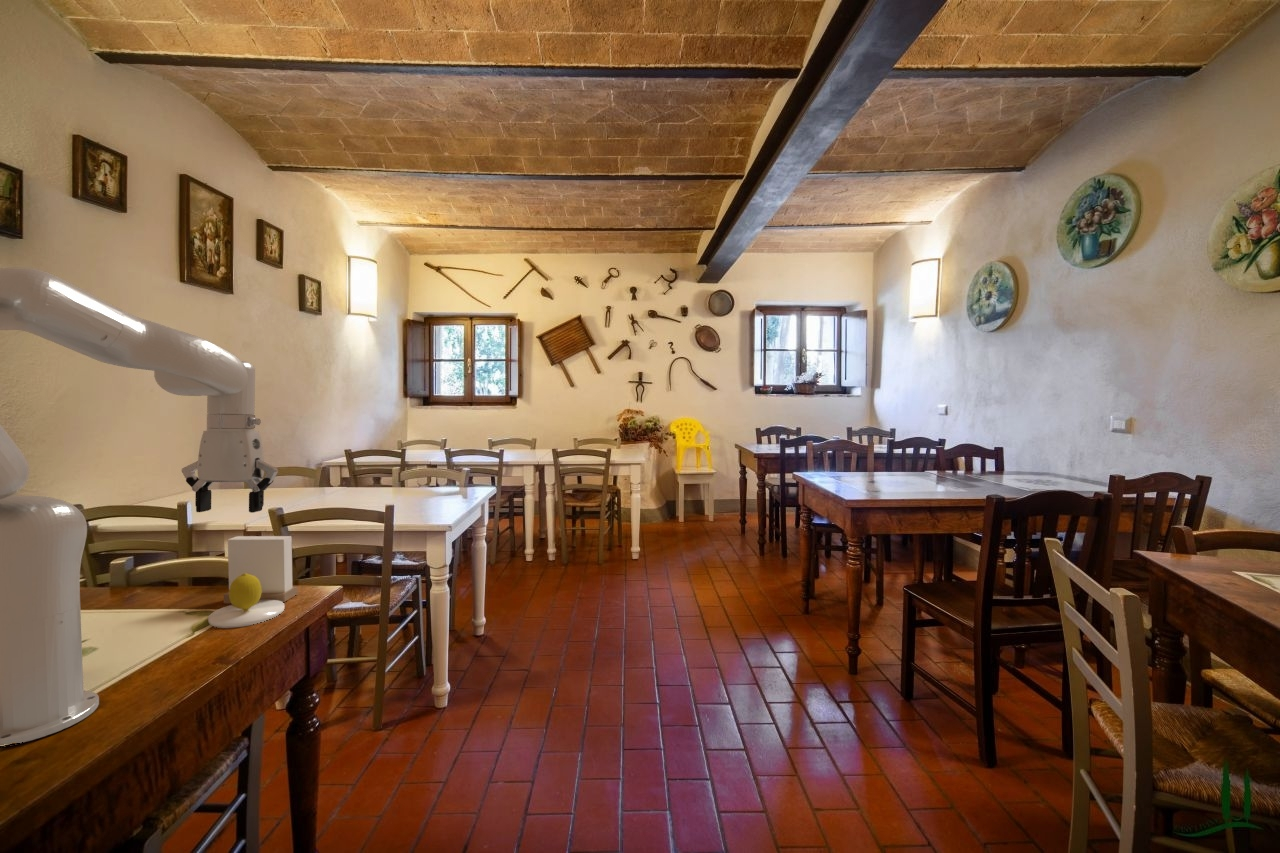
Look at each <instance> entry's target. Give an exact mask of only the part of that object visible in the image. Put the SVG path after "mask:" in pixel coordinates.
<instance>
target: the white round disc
mask: <svg viewBox="0 0 1280 853" xmlns="http://www.w3.org/2000/svg"><path fill="white" fill-rule="evenodd" d="M285 607H286V606H285V603H283V602H282V601H278V600H259V601H258V602H257V603H256V604H255V605H254V606H252V607H250V609H249V610H247V611H244V610H242V609H239V608H236V607H234V606H233V605H232V604H228V605H227V606H223V607H221V608H218V609H216V610H214V611H213V612H211V613H210V614H209V615H208V618H207V620H208V623H209V624H210V625H211V626H210V625H209V624H208V623H207V624H208V625H209V626H210V627H212V626H214V627H213V628H216V627H217V629H235V628H242V627H249V626H254V625H258V624H261V623H260V622H262V623H265V622H267V621H266V620H268V621H270V620H269V619H271V620H273V619H275V618H277V617H279V616H280V615H279V614H281V613H282V612H283V611H284V612H285V610H284V609H285ZM284 612H283V613H284ZM283 613H282V614H283ZM282 614H281V615H282ZM278 615H279V616H278ZM276 616H277V617H276ZM274 617H275V618H274ZM272 618H273V619H272ZM264 621H265V622H264ZM257 623H258V624H257ZM253 624H254V625H253Z"/></svg>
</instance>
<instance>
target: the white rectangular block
mask: <svg viewBox="0 0 1280 853" xmlns="http://www.w3.org/2000/svg"><path fill="white" fill-rule="evenodd" d="M292 540H293V539H292V536H291V535H289V536H288V535H287V536H286V535H268V536H267V535H262V536H261V535H259V536H256V535H249V536H248V535H244V536H243V535H241V536H239V535H238V536H233V537H231V538H228V539H227V554H228V555H227V557H228V558H227V561H228V562H227V564H228V590H229V589H230V586H231V584H232V582H233V581H234V580H235V579H236V578H237V577H239V576H241V575H242V574H243V573H247V574H250V575H253V576H255V577H257V578H258V579H259V581H260V584H261V589H262V593H261V597H260V599H259V600H278V601H282V602H285V601H286V600H288V599H289V598H291V597H293V596H295V595H297V596H298V586H293V552H292V551H293V547H292V546H293V544H292V543H293V542H292ZM295 597H296V596H295ZM285 603H286V602H285ZM223 604H232V603H231V602H230V599H229V591H228V592H226V593H224V594H223Z"/></svg>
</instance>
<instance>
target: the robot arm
mask: <svg viewBox="0 0 1280 853" xmlns="http://www.w3.org/2000/svg"><path fill="white" fill-rule="evenodd" d="M0 331H22V332H26V333H29V334H33V335H35V336H37V337H40V338H42V339H44V340H47V341H50V342H52V343H54V344H56V345H59V346H62V347H64V348H67V349H69V350H72V351H74V352H76V353H79V354H81V355H83V356H85V357H88V358H91V359H93V360H94V361H98V362H100V363H102V364H103V363H104V364H108V365H112V366H113V365H114V366H118V367H123V368H126V369H127V368H128V369H135V370H145V371H153V372H154V373H153V375H154V376H153V377H154V379H155V382H156V383H157V385H158V386H159V388H161V389H162V390H163V391H166V392H167V393H170V394H172V395H176V396H181V397H182V396H183V397H201V396H202V397H206V430H203V432H202V435H201V439H200V444H199V449H198V455H197V456H198V457H197V461H195V462H192V463H190V464H189V465H186V466H184V467H182V468H181V472H182V475H183V476H184V478H185V482H186V484H188V485H189V486H190V487H191V490H192V492H195V497H194V498H195V512H196V513H203V512H204V513H205V512H209V511H211V510H212V490H211V489H210V487H211V486H212V485H213V484H214V483H245V484H246V485H247V486H248V487H249V488H250V489H251V490H252V491H249V493H248V512H249V514H250V513H253V514H254V513H257V512H260V511H262V510H263V507H264V504H265V503H264V500H265V499H264V498H265V497H264V496H265V491H267V489H268V488H269V486H270V485H271V484H272V483H274V480H275V478H276V476H277V474H278V473H279V469H278V467H275V466H273V465H271V464H269V463H267V462H265V460H264V459H265V458H264V449H263V443H262V438H261V434H260V431H259V430H257V431H255V428H256V426H260V425H261V423H262V422H261V418H256V414H255V411H256V410H255V408H256V406H255V405H256V402H255V401H256V398H255V397H256V368H255V365H253V364H252V362H248V361H244V360H241V359H240V358H238V357H237V356H236V355H235V354H234V353H232V352H230V351H228V350H227V349H224V348H222V347H221V346H219V345H217V344H216V343H213V342H211V341H210V340H207V339H204V338H202V337H199V336H196V335H194V334H191V333H188V332H184V331H182V330H179V329H175V328H172V327H169V326H166V325H164V324H160V323H157V322H155V321H151V320H147V319H144V318H141V317H137V316H136V315H133V314H131V313H129V312H128V311H125V310H123V309H121V308H119V307H117V306H115V305H113V304H111V303H109V302H108V301H105V300H103V299H101V298H99V297H98V296H96V295H94V294H92V293H90V292H88V291H86V290H84V289H82V288H80V287H79V286H77V285H74V284H73V283H71V282H69V281H67V280H65V279H63V278H61V277H60V276H57V275H55V274H52V273H50V272H48V271H44V270H42V269H38V268H32V267H18V266H17V267H0ZM196 471H197V476H196ZM29 475H30V467H29V463H28V461H27V459H26V457H25V455H24V454H23V452H22V450H20V448H19V446H17V444H16V442H15V441H14V439H12V437H11V436H10V435H9V433H8V432H7V431H6V430H5V428H4V427H3V425H2V424H1V423H0V745H4V744H12V743H20V744H23V743H26V742H32V741H34V740H37V739H41V738H44V737H47V736H49V735H53V734H55V733H57V732H60V731H62V730H65V729H67V728H69V727H71V726H74V725H76V724H77V723H79V722H81V721H83V720H84V719H86V718H88V717H89V716H90V715H92V713H94V712H95V711H96V710H97V708H98V707H99V705H100V696H99V695H98V693H96V692H95V691H94V692H93V691H90V690H84V672H83V671H84V670H83V668H84V666H83V643H82V642H83V640H82V639H83V638H82V616H81V613H82V612H81V592H80V575H81V564H82V558H83V553H84V549H85V546H86V541H87V535H88V525H87V520H86V517H85V515H84V514H83V512H81V511H80V509H79V508H77V507H76V506H75V505H73V504H72V503H71V502H68V501H66V500H63V499H61V498H60V499H59V498H55V497H50V496H41V495H16V493H17V492H19V491H20V490H21V489H23V487H24V486H25V485H26V484H27V482H28V480H29ZM264 475H265V476H264ZM22 742H23V743H22Z"/></svg>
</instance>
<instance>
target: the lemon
mask: <svg viewBox="0 0 1280 853" xmlns="http://www.w3.org/2000/svg"><path fill="white" fill-rule="evenodd" d="M228 592H229V599H230V602H231V603H230V604H231V605H233V606H234V607H236V608H239V609H242V610H244V611H247V610H249V609H250V607H252V606H254V605H255V604H256V603H257V602H258V601H259V599H260V597H261V593H262V589H261V584H260V581H259V579H258V578H257V577H255V576H253V575H250V574H247V573H243V574H242V575H241V576H239V577H237V578H236V579H235V580H234V581H233V582H232V584H231V586H230V589H229V588H228Z"/></svg>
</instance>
